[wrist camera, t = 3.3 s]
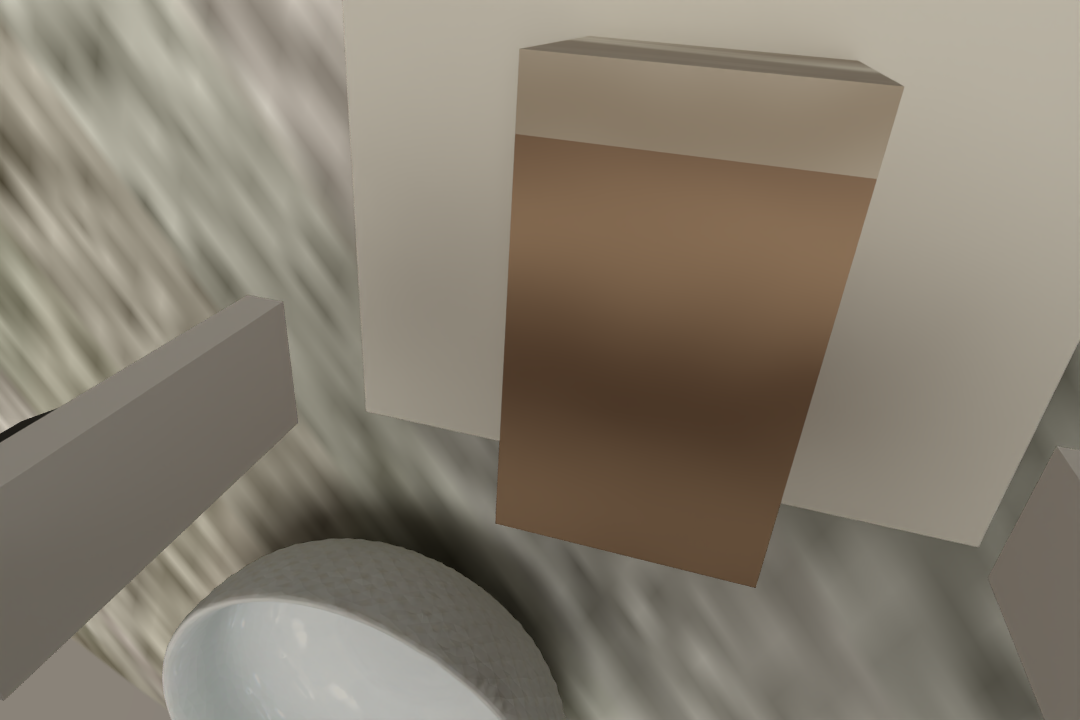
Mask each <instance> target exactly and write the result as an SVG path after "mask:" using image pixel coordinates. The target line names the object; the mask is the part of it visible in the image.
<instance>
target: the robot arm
mask: <svg viewBox="0 0 1080 720" xmlns="http://www.w3.org/2000/svg"><path fill="white" fill-rule="evenodd" d="M297 423H298V418H297V409H296V401H295V393H294V385H293V377H292V369H291V361H290V353H289V345H288V337H287V329H286V321H285V312H284V304H283V301H278V300H273V299H267V298H262V297H257V296H251V295H246V296H245V297H243V298H241V299H240V300H238V301H236V302H235V303H233V304H231V305H230V306H228V307H226V308H225V309H223V310H221V311H220V312H218V313H216V314H215V315H213V316H211V317H209V318H208V319H206V320H204V321H203V322H201V323H199V324H198V325H196V326H194V327H193V328H191V329H189V330H188V331H186V332H184V333H183V334H181V335H179V336H178V337H176V338H174V339H173V340H171V341H169V342H168V343H166V344H164V345H163V346H161V347H159V348H158V349H156V350H154V351H153V352H151V353H149V354H148V355H146V356H144V357H143V358H141V359H139V360H138V361H136V362H134V363H133V364H131V365H129V366H128V367H126V368H124V369H123V370H121V371H119V372H117V373H116V374H114V375H112V376H111V377H109V378H107V379H106V380H104V381H102V382H101V383H99V384H97V385H96V386H94V387H92V388H91V389H89V390H87V391H86V392H84V393H82V394H81V395H79V396H77V397H76V398H74V399H72V400H71V401H69V402H67V403H66V404H64V405H62V406H61V407H59V408H57V409H54V410H51V411H49V412H46V413H43V414H40V415H38V416H35V417H32V418H29V419H27V420H24V421H21V422H19V423H18V424H16V425H14V426H13V427H11V428H9V429H7V430H6V431H4V432H2V433H1V434H0V700H3V701H4V700H5V699H6V698H7V697H8V696H9V695H10V694H12V693H13V692H14V691H15V690H16V689H17V688H18V687H19V686H20V685H21V684H22V683H23V682H24V681H25V680H26V679H27V678H29V677H30V675H32V674H33V673H34V672H35V671H36V670H37V669H38V668H39V667H40V666H41V665H42V664H43V663H44V662H45V661H47V659H48V658H50V657H51V656H52V655H53V654H54V653H55V652H56V651H57V650H58V649H59V648H60V647H61V646H62V645H63V644H64V643H66V642H67V641H68V639H70V638H71V637H72V636H73V635H74V634H75V633H76V632H77V631H78V630H79V629H80V628H81V627H83V626H84V625H85V624H86V623H87V622H88V621H89V620H90V619H91V618H92V617H93V616H94V615H95V614H96V613H97V612H98V611H99V610H101V609H102V608H103V607H104V606H105V605H106V604H107V603H108V602H109V601H110V600H111V599H112V598H113V597H114V596H115V595H116V594H117V593H119V592H120V591H121V590H122V589H123V588H124V587H125V586H126V585H127V584H128V583H129V582H130V581H131V580H132V579H133V578H134V577H135V576H137V575H138V574H139V573H140V572H141V571H142V570H143V569H144V568H145V567H146V566H147V565H148V564H149V563H150V562H151V561H152V560H153V559H154V558H156V557H157V556H158V555H159V554H160V553H161V552H162V551H163V550H164V549H165V548H166V547H167V546H168V545H169V544H170V543H171V542H172V541H174V540H175V539H176V538H177V537H178V536H179V535H180V534H181V533H182V532H183V531H184V530H185V529H186V528H187V527H188V526H189V525H190V524H192V523H193V522H194V521H195V520H196V519H197V518H198V517H199V516H200V515H201V514H202V513H203V512H204V511H205V510H206V509H207V508H208V507H210V506H211V505H212V504H213V503H214V502H215V501H216V500H217V499H218V498H219V497H220V496H221V495H222V494H223V493H224V492H225V491H226V490H228V489H229V488H230V487H231V486H232V485H233V484H234V483H235V482H236V481H237V480H238V479H239V478H240V477H241V476H242V475H243V474H244V473H246V472H247V471H248V470H249V469H250V468H251V467H252V466H253V465H254V464H255V463H256V462H257V461H258V460H259V459H260V458H261V457H262V456H264V455H265V454H266V453H267V452H268V451H269V450H270V449H271V448H272V447H273V446H274V445H275V444H276V443H277V442H278V441H279V440H280V439H281V438H283V437H284V436H285V435H286V434H287V433H288V432H289V431H290V430H291V429H292V428H293V427H294V426H295V425H296V424H297ZM988 580H989V582H990V585H991V587H992V590H993V592H994V595H995V597H996V600H997V602H998V605H999V607H1000V610H1001V612H1002V615H1003V617H1004V620H1005V622H1006V625H1007V627H1008V630H1009V632H1010V635H1011V637H1012V640H1013V642H1014V645H1015V647H1016V650H1017V652H1018V655H1019V657H1020V660H1021V662H1022V665H1023V667H1024V670H1025V672H1026V675H1027V677H1028V680H1029V682H1030V685H1031V687H1032V690H1033V692H1034V695H1035V697H1036V700H1037V702H1038V705H1039V707H1040V710H1041V712H1042V715H1043V717H1044V720H1080V450H1076V449H1071V448H1065V447H1060V446H1056V448H1055V450H1054V452H1053V454H1052V456H1051V458H1050V460H1049V462H1048V463H1047V465H1046V467H1045V469H1044V471H1043V473H1042V475H1041V477H1040V479H1039V481H1038V483H1037V485H1036V486H1035V488H1034V490H1033V492H1032V494H1031V496H1030V498H1029V500H1028V502H1027V504H1026V506H1025V508H1024V509H1023V511H1022V513H1021V515H1020V517H1019V519H1018V521H1017V523H1016V525H1015V527H1014V529H1013V530H1012V532H1011V534H1010V536H1009V538H1008V540H1007V542H1006V544H1005V546H1004V548H1003V550H1002V552H1001V553H1000V555H999V557H998V559H997V561H996V563H995V565H994V567H993V569H992V571H991V573H990V575H989V576H988Z"/></svg>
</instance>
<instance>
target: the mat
mask: <svg viewBox="0 0 1080 720" xmlns="http://www.w3.org/2000/svg"><path fill="white" fill-rule="evenodd" d="M342 8H343V25H344V42H345V59H346V77H347V94H348V111H349V128H350V145H351V163H352V180H353V197H354V214H355V231H356V249H357V266H358V283H359V300H360V317H361V335H362V352H363V369H364V386H365V403H366V412H371V413H375V414H380V415H384V416H389V417H393V418H398V419H402V420H407V421H411V422H416V423H420V424H425V425H429V426H434V427H438V428H443V429H447V430H452V431H456V432H461V433H466V434H470V435H475V436H479V437H484V438H488V439H493V440H497V441H500V422H501V402H502V383H503V363H504V343H505V323H506V303H507V284H508V264H509V244H510V224H511V204H512V185H513V165H514V145H515V125H516V105H517V86H518V66H519V49H521V48H526V47H532V46H537V45H543V44H548V43H553V42H559V41H564V40H570V39H575V38H581V37H586V36H596V37H607V38H617V39H628V40H639V41H650V42H661V43H672V44H683V45H693V46H704V47H715V48H726V49H737V50H748V51H759V52H769V53H780V54H791V55H802V56H813V57H824V58H835V59H845V60H856V61H860V62H862V63H863V64H865V65H867V66H869V67H870V68H872V69H874V70H876V71H878V72H879V73H881V74H883V75H885V76H887V77H888V78H890V79H892V80H894V81H895V82H897V83H899V84H901V85H903V86H904V90H903V94H902V97H901V100H900V104H899V107H898V110H897V114H896V117H895V120H894V124H893V127H892V131H891V134H890V137H889V141H888V144H887V147H886V151H885V154H884V157H883V161H882V164H881V168H880V171H879V174H878V178H877V181H876V184H875V188H874V191H873V194H872V198H871V201H870V205H869V208H868V211H867V215H866V218H865V221H864V225H863V228H862V231H861V235H860V238H859V242H858V245H857V248H856V252H855V255H854V258H853V262H852V265H851V268H850V272H849V275H848V279H847V282H846V285H845V289H844V292H843V295H842V299H841V302H840V305H839V309H838V312H837V316H836V319H835V322H834V326H833V329H832V332H831V336H830V339H829V342H828V346H827V349H826V353H825V356H824V359H823V363H822V366H821V369H820V373H819V376H818V379H817V383H816V386H815V390H814V393H813V396H812V400H811V403H810V406H809V410H808V413H807V416H806V420H805V423H804V427H803V430H802V433H801V437H800V440H799V443H798V447H797V450H796V453H795V457H794V460H793V464H792V467H791V470H790V474H789V477H788V480H787V484H786V487H785V490H784V494H783V497H782V501H781V504H786V505H790V506H795V507H799V508H804V509H808V510H813V511H817V512H822V513H826V514H831V515H835V516H840V517H844V518H849V519H853V520H858V521H862V522H867V523H871V524H876V525H880V526H885V527H889V528H894V529H898V530H903V531H907V532H912V533H916V534H921V535H925V536H930V537H934V538H939V539H943V540H948V541H952V542H957V543H961V544H966V545H970V546H975V547H979V545H980V543H981V541H982V539H983V537H984V535H985V533H986V531H987V529H988V527H989V525H990V523H991V521H992V519H993V517H994V514H995V512H996V510H997V508H998V506H999V504H1000V502H1001V500H1002V498H1003V496H1004V494H1005V492H1006V490H1007V488H1008V486H1009V484H1010V482H1011V480H1012V478H1013V476H1014V473H1015V471H1016V469H1017V467H1018V465H1019V463H1020V461H1021V459H1022V457H1023V455H1024V453H1025V451H1026V449H1027V447H1028V445H1029V443H1030V441H1031V439H1032V437H1033V435H1034V432H1035V430H1036V428H1037V426H1038V424H1039V422H1040V420H1041V418H1042V416H1043V414H1044V412H1045V410H1046V408H1047V406H1048V404H1049V402H1050V400H1051V398H1052V396H1053V394H1054V391H1055V389H1056V387H1057V385H1058V383H1059V381H1060V379H1061V377H1062V375H1063V373H1064V371H1065V369H1066V367H1067V365H1068V363H1069V361H1070V359H1071V357H1072V355H1073V352H1074V350H1075V348H1076V346H1077V344H1078V342H1079V340H1080V0H342Z"/></svg>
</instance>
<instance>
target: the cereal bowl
mask: <svg viewBox="0 0 1080 720" xmlns="http://www.w3.org/2000/svg"><path fill="white" fill-rule="evenodd" d="M162 680H163V692H164V697H165V701H166V705H167V708H168V712H169V715H170V718H171V720H566V718H565V715H564V711H563V704H562V700H561V698H560V696H559V694H558V689H557V684H556V682H555V681H554V679H553V678H552V675H551V673H550V669H549V666H548V665H547V664H546V662H545V661H544V659H543V657H542V654H541V651H540V650H539V649H538V648H537V647H536V645H535V643H534V641H533V639H532V638H531V637H530V636H529V635H528V633H527V632H525V630H524V629H523V627H522V625H521V623H519V622H518V621H517V620H516V619H514V618H513V616H512V615H511V614H510V613H509V612H508V611H507V610H506V608H504V607H503V606H502V605H501V604H500V603H499V602H498V601H497V600H496V599H494V598H493V597H492V596H491V595H490V594H489V593H487V592H486V591H485V590H484V589H483V588H482V587H479V586H478V585H477V584H476V583H474V582H472V581H471V580H470V579H468V578H466V577H464V576H463V575H462V574H461V573H459V572H457V571H455V570H454V569H453V568H450V567H447V566H445V565H444V564H443V563H441V562H437V561H436V560H435V559H432V558H428V557H425V556H424V555H422V554H420V553H416V552H415V551H413V550H407V549H405V548H403V547H399V546H394V545H390V544H388V543H383V542H381V541H368V540H364V539H350V538H344V539H334V538H332V539H326V540H321V541H310V542H306V543H302V544H294V545H291V546H289V547H286V548H283V549H279V550H277V551H275V552H273V553H271V554H268V555H265V556H262V557H261V558H259V559H258V560H256V561H254V562H253V563H250V564H248V565H246V566H245V567H244V568H243V569H241V570H240V571H238V572H237V573H235V574H233V575H231V576H230V577H228V578H227V579H226V580H225V581H224V582H223V583H222V584H220V585H219V586H217V587H216V588H214V589H213V591H212V592H211V593H210V594H209V595H208V596H207V597H206V598H204V599H203V600H202V601H201V602H200V603H199V604H198V605H197V606H196V607H195V608H194V609H193V610H192V611H191V612H190V613H189V614H188V615H187V616H186V617H185V619H184V620H183V621H182V623H181V624H180V625H179V627H178V628H177V629H176V631H175V632H174V634H173V636H172V638H171V640H170V642H169V644H168V646H167V649H166V653H165V657H164V661H163V672H162Z"/></svg>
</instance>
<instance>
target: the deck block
mask: <svg viewBox="0 0 1080 720" xmlns="http://www.w3.org/2000/svg"><path fill="white" fill-rule="evenodd" d="M903 90H904V86H903V85H901V84H899V83H897V82H895V81H894V80H892V79H890V78H888V77H887V76H885V75H883V74H881V73H879V72H878V71H876V70H874V69H872V68H870V67H869V66H867V65H865V64H863V63H862V62H860V61H856V60H845V59H835V58H824V57H813V56H802V55H791V54H780V53H769V52H759V51H748V50H737V49H726V48H715V47H704V46H693V45H683V44H672V43H661V42H650V41H639V40H628V39H617V38H607V37H596V36H586V37H581V38H575V39H570V40H564V41H559V42H553V43H548V44H543V45H537V46H532V47H526V48H521V49H519V66H518V86H517V105H516V125H515V145H514V165H513V185H512V204H511V224H510V244H509V264H508V284H507V303H506V323H505V343H504V363H503V383H502V402H501V422H500V442H499V462H498V482H497V501H496V521H495V523H496V524H500V525H504V526H508V527H512V528H516V529H520V530H524V531H528V532H532V533H536V534H540V535H544V536H548V537H552V538H556V539H560V540H564V541H569V542H573V543H577V544H581V545H585V546H589V547H593V548H597V549H601V550H605V551H609V552H613V553H617V554H621V555H625V556H629V557H633V558H637V559H641V560H645V561H649V562H653V563H657V564H661V565H665V566H669V567H673V568H677V569H681V570H685V571H689V572H694V573H698V574H702V575H706V576H710V577H714V578H718V579H722V580H726V581H730V582H734V583H738V584H742V585H746V586H750V587H754V588H756V585H757V581H758V578H759V575H760V571H761V568H762V564H763V561H764V558H765V554H766V551H767V548H768V544H769V541H770V538H771V534H772V531H773V527H774V524H775V521H776V517H777V514H778V511H779V507H780V504H781V501H782V497H783V494H784V490H785V487H786V484H787V480H788V477H789V474H790V470H791V467H792V464H793V460H794V457H795V453H796V450H797V447H798V443H799V440H800V437H801V433H802V430H803V427H804V423H805V420H806V416H807V413H808V410H809V406H810V403H811V400H812V396H813V393H814V390H815V386H816V383H817V379H818V376H819V373H820V369H821V366H822V363H823V359H824V356H825V353H826V349H827V346H828V342H829V339H830V336H831V332H832V329H833V326H834V322H835V319H836V316H837V312H838V309H839V305H840V302H841V299H842V295H843V292H844V289H845V285H846V282H847V279H848V275H849V272H850V268H851V265H852V262H853V258H854V255H855V252H856V248H857V245H858V242H859V238H860V235H861V231H862V228H863V225H864V221H865V218H866V215H867V211H868V208H869V205H870V201H871V198H872V194H873V191H874V188H875V184H876V181H877V178H878V174H879V171H880V168H881V164H882V161H883V157H884V154H885V151H886V147H887V144H888V141H889V137H890V134H891V131H892V127H893V124H894V120H895V117H896V114H897V110H898V107H899V104H900V100H901V97H902V94H903Z"/></svg>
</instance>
